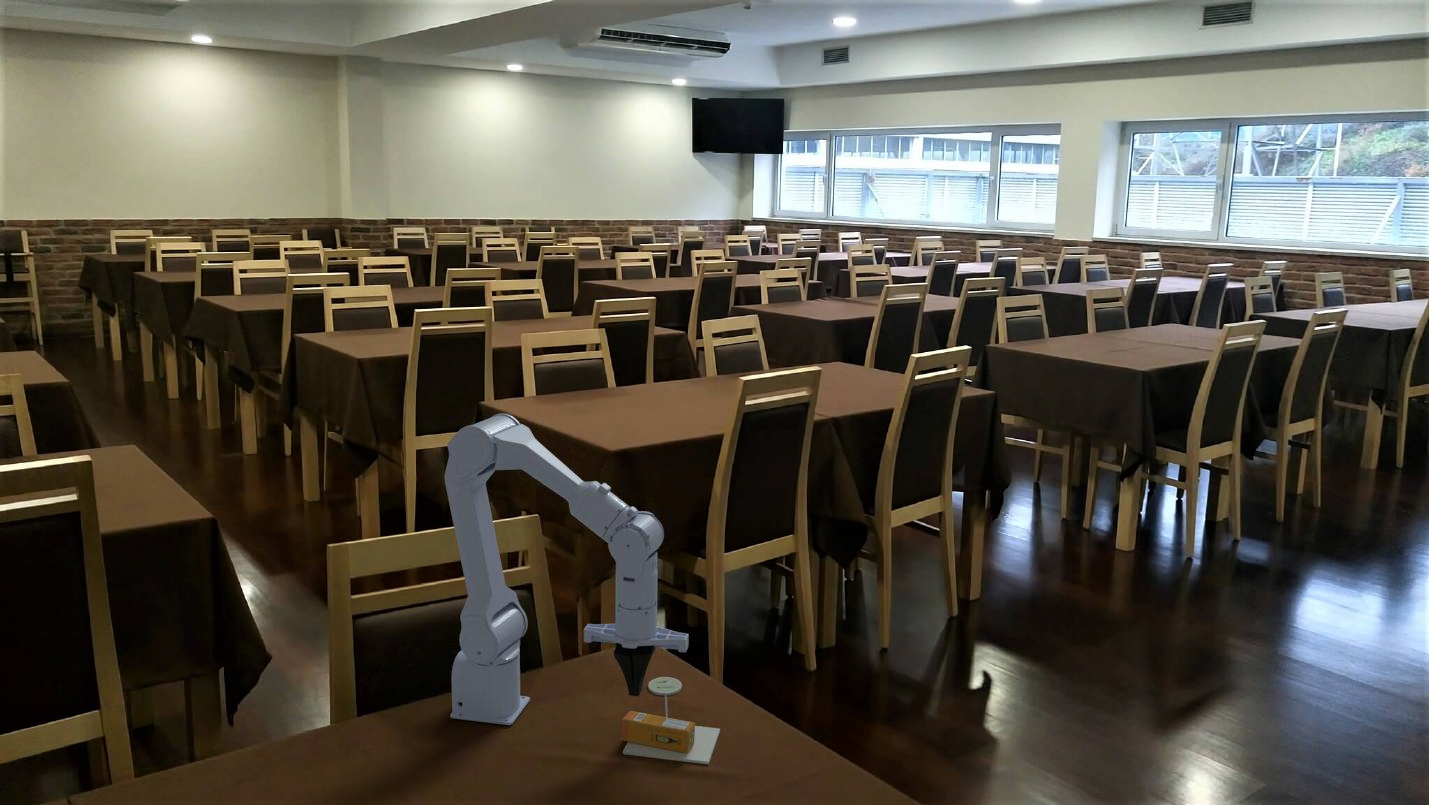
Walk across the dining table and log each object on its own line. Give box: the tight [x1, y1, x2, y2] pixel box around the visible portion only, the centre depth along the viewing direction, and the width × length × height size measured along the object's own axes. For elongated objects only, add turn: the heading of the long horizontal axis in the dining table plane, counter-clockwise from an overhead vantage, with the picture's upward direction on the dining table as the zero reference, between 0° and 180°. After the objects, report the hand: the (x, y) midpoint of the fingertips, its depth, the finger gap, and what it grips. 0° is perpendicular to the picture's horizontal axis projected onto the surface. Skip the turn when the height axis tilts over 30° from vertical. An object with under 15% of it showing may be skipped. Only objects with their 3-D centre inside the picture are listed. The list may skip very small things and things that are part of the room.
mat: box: [622, 725, 721, 765], centre depth 147 cm, size 12×9×1 cm
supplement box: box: [620, 710, 696, 753], centre depth 146 cm, size 3×3×10 cm
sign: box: [648, 676, 683, 718], centre depth 158 cm, size 5×1×15 cm
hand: (635, 692), depth 146 cm, fingers closed
